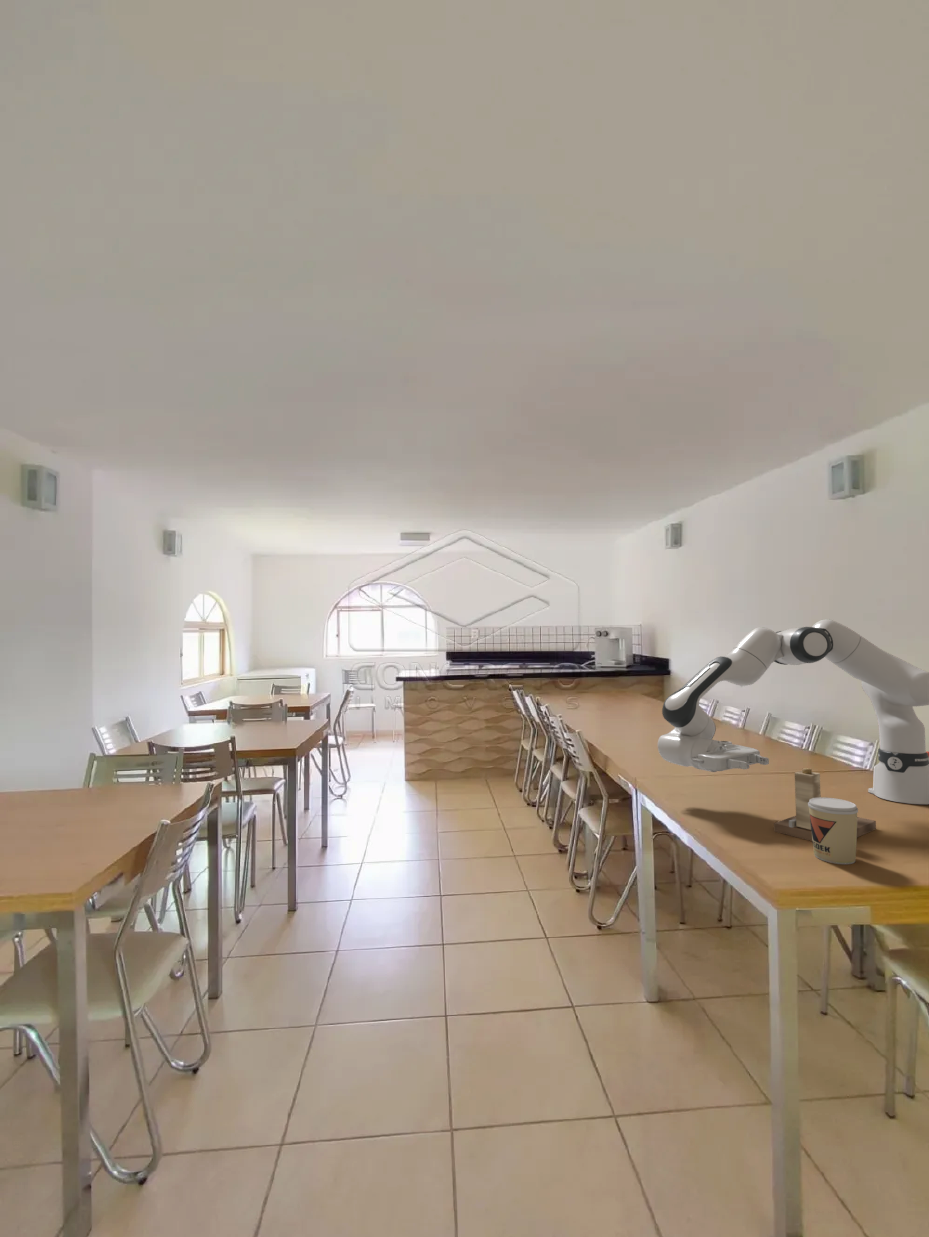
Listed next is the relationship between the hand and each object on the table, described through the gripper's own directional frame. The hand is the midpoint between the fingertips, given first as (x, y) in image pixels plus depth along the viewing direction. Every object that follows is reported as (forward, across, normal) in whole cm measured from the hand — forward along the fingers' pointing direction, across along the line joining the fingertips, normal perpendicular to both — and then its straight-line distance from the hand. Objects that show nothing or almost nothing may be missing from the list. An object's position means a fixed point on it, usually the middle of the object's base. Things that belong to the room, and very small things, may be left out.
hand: (757, 763), depth 153 cm
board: (+12, +8, +16) cm, 21 cm away
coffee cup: (+22, -10, +16) cm, 29 cm away
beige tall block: (+13, 0, +13) cm, 18 cm away
